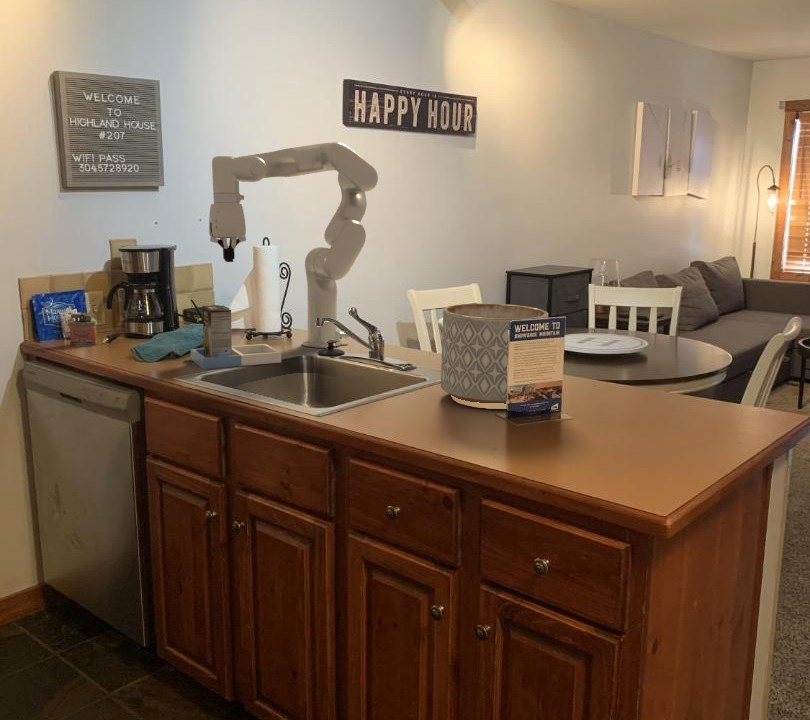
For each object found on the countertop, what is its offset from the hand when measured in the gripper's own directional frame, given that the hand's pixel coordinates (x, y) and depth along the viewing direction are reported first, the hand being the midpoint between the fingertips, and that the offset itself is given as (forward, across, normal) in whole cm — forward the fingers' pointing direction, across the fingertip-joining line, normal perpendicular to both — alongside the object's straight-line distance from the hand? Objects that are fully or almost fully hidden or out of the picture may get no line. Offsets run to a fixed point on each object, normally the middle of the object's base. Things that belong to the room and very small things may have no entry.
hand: (229, 261), depth 239 cm
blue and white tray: (+28, +3, +11) cm, 30 cm away
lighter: (+28, +39, -30) cm, 56 cm away
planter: (+29, -41, +79) cm, 93 cm away
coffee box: (+28, +8, +11) cm, 31 cm away
